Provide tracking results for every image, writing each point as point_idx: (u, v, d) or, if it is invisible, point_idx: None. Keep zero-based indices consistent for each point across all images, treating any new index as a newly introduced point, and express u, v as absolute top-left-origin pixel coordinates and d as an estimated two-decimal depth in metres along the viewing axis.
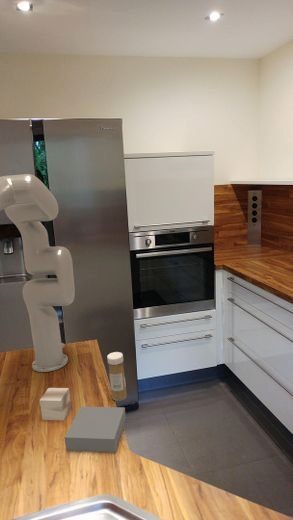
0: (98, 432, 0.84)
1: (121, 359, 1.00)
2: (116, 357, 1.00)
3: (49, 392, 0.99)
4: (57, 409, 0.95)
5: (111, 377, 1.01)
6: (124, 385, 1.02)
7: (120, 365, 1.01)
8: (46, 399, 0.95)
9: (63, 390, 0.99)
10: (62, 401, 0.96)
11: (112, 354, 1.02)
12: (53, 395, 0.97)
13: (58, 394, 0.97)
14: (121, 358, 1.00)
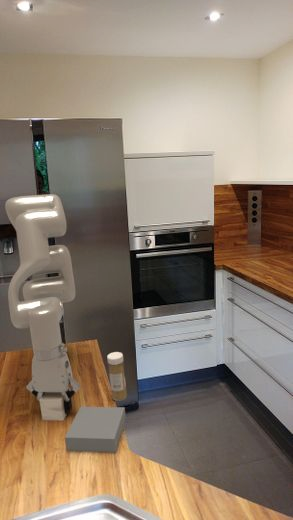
0: (98, 432, 0.84)
1: (121, 359, 1.00)
2: (116, 357, 1.00)
3: (49, 392, 0.99)
4: (57, 409, 0.95)
5: (111, 377, 1.01)
6: (124, 385, 1.02)
7: (120, 365, 1.01)
8: (46, 399, 0.95)
9: None
10: (62, 401, 0.96)
11: (112, 354, 1.02)
12: (53, 395, 0.97)
13: (58, 394, 0.97)
14: (121, 358, 1.00)
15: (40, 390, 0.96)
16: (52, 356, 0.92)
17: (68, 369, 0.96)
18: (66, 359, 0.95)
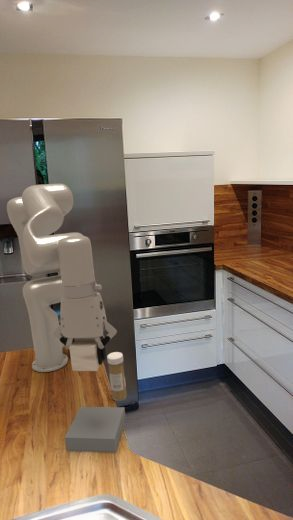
0: (98, 432, 0.84)
1: (121, 359, 1.00)
2: (116, 357, 1.00)
3: (79, 340, 0.85)
4: (90, 357, 0.81)
5: (111, 377, 1.01)
6: (124, 385, 1.02)
7: (120, 365, 1.01)
8: (77, 346, 0.82)
9: None
10: (96, 348, 0.82)
11: (112, 354, 1.02)
12: (85, 342, 0.83)
13: (90, 341, 0.84)
14: (121, 358, 1.00)
15: (70, 336, 0.82)
16: (85, 293, 0.79)
17: (102, 311, 0.82)
18: (100, 299, 0.82)
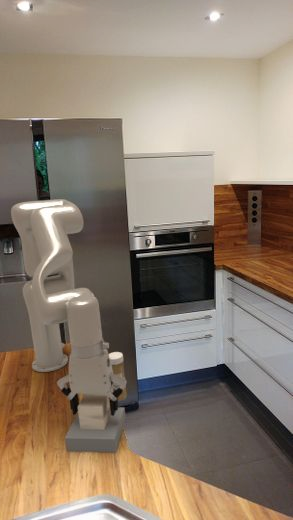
0: (98, 432, 0.84)
1: (121, 359, 1.00)
2: (116, 357, 1.00)
3: (87, 397, 0.88)
4: (97, 417, 0.85)
5: None
6: None
7: (120, 365, 1.01)
8: (85, 406, 0.85)
9: (102, 395, 0.89)
10: (103, 407, 0.85)
11: (112, 354, 1.02)
12: (92, 401, 0.87)
13: (98, 400, 0.87)
14: (121, 358, 1.00)
15: (78, 391, 0.85)
16: (93, 353, 0.81)
17: (110, 368, 0.85)
18: (107, 357, 0.84)
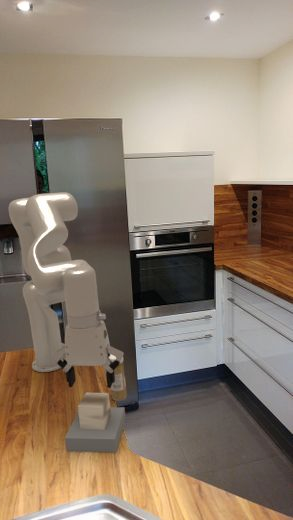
0: (98, 432, 0.84)
1: (121, 359, 1.00)
2: None
3: (87, 397, 0.88)
4: (97, 417, 0.85)
5: None
6: (124, 385, 1.02)
7: (120, 365, 1.01)
8: (85, 405, 0.85)
9: (103, 395, 0.89)
10: (103, 408, 0.85)
11: None
12: (93, 401, 0.87)
13: (98, 400, 0.87)
14: None
15: (74, 363, 0.84)
16: (90, 324, 0.80)
17: (106, 340, 0.84)
18: (104, 328, 0.83)
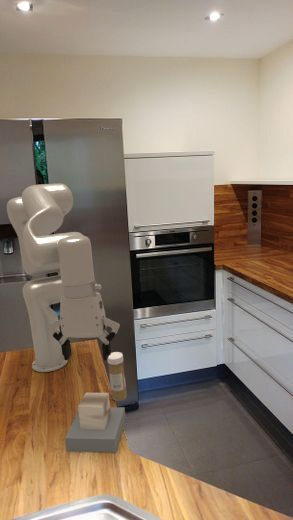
0: (98, 432, 0.84)
1: (121, 359, 1.00)
2: (116, 357, 1.00)
3: (87, 397, 0.88)
4: (98, 417, 0.85)
5: (111, 377, 1.01)
6: (124, 385, 1.02)
7: (120, 365, 1.01)
8: (86, 405, 0.85)
9: (103, 395, 0.89)
10: (103, 407, 0.85)
11: (112, 354, 1.02)
12: (93, 401, 0.87)
13: (98, 400, 0.87)
14: (121, 358, 1.00)
15: (69, 335, 0.83)
16: (85, 293, 0.79)
17: (102, 311, 0.82)
18: (100, 299, 0.82)
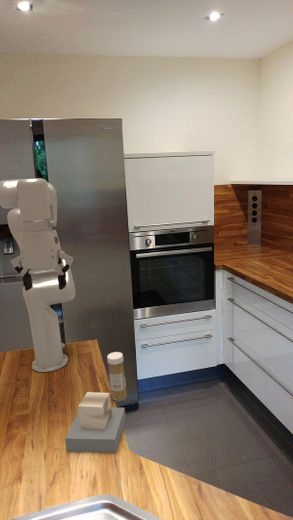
0: (98, 432, 0.84)
1: (121, 359, 1.00)
2: (116, 357, 1.00)
3: (88, 397, 0.88)
4: (98, 417, 0.85)
5: (111, 377, 1.01)
6: (124, 385, 1.02)
7: (120, 365, 1.01)
8: (86, 405, 0.85)
9: (104, 395, 0.89)
10: (104, 407, 0.85)
11: (112, 354, 1.02)
12: (93, 401, 0.87)
13: (99, 400, 0.87)
14: (121, 358, 1.00)
15: (29, 267, 0.94)
16: (41, 228, 0.90)
17: (57, 246, 0.94)
18: (55, 235, 0.94)
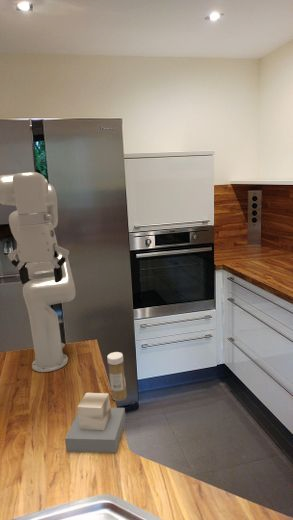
0: (98, 433, 0.84)
1: (121, 359, 1.00)
2: (116, 357, 1.00)
3: (87, 397, 0.88)
4: (97, 417, 0.84)
5: (111, 377, 1.01)
6: (124, 385, 1.02)
7: (120, 365, 1.01)
8: (85, 406, 0.85)
9: (103, 396, 0.88)
10: (103, 408, 0.85)
11: (112, 354, 1.02)
12: (92, 401, 0.86)
13: (98, 401, 0.86)
14: (121, 358, 1.00)
15: (25, 260, 0.95)
16: (37, 221, 0.91)
17: (53, 239, 0.95)
18: (51, 228, 0.95)
